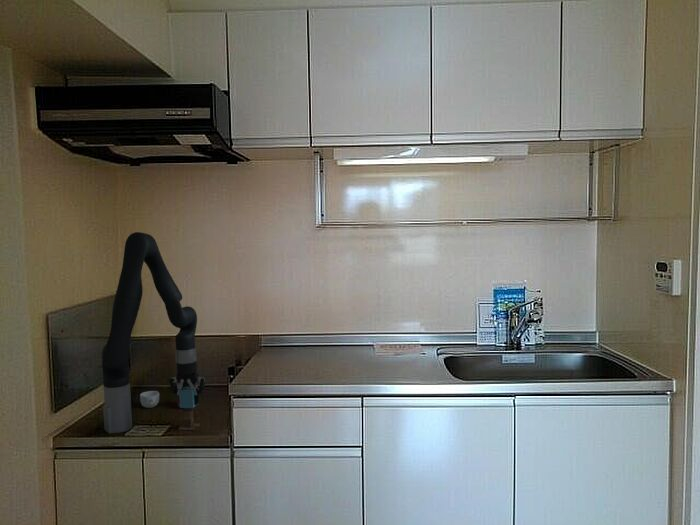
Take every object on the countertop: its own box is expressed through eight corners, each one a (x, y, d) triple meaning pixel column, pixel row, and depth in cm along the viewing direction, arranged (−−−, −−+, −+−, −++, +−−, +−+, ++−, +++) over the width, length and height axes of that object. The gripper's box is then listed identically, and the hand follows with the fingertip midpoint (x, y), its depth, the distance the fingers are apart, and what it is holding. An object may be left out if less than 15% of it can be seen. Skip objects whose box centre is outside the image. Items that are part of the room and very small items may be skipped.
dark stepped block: (193, 430, 216) (192, 413, 215) (178, 430, 216) (177, 413, 216) (199, 424, 221) (199, 408, 221) (184, 424, 222) (184, 407, 222)
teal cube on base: (193, 408, 216) (192, 390, 215) (179, 407, 216) (178, 390, 216) (198, 403, 221) (197, 386, 220) (185, 403, 222) (184, 386, 221)
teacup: (138, 405, 246) (137, 393, 246) (156, 402, 250) (156, 389, 250) (144, 411, 238) (143, 399, 237) (163, 408, 242) (162, 395, 241)
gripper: (208, 357, 220) (210, 401, 222) (172, 357, 222) (174, 400, 223) (201, 362, 213) (203, 407, 214) (163, 363, 214) (166, 407, 216)
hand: (189, 404), depth 219 cm, fingers closed on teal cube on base, 5 cm apart
